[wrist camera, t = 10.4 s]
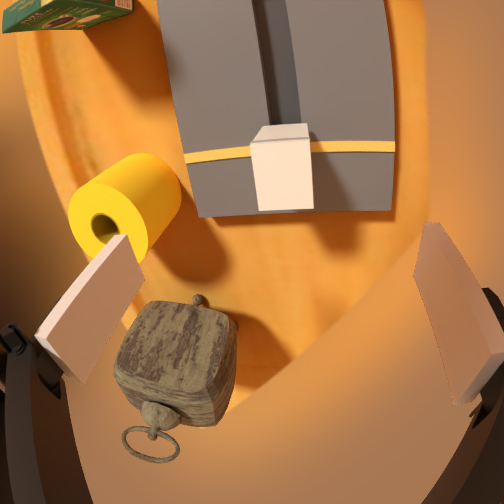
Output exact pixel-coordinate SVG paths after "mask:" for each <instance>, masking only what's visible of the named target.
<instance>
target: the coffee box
mask: <svg viewBox="0 0 504 504" xmlns="http://www.w3.org/2000/svg"><path fill="white" fill-rule="evenodd" d="M133 12H134V8H133V0H18V1H16V2H15V3H14V4H12V5H11V6H10V7H8V8H7V9H6V10H4V12H3V21H2V33H11V32H22V31H34V30H82V29H85V28H87V27H90V26H93V25H95V24H98V23H101V22H104V21H107V20H110V19H113V18H116V17H119V16H123V15H126V14H130V13H133Z"/></svg>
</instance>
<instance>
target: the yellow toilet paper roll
mask: <svg viewBox="0 0 504 504" xmlns="http://www.w3.org/2000/svg"><path fill="white" fill-rule="evenodd" d="M181 200H182V192H181V187H180V183H179V181H178V178H177V176H176V175H175V173H174V171H173V170H172V169H171V168H170V167H169V166H168V165H167V164H166V163H165V162H164V161H163V160H161V159H159V158H158V157H155V156H153V155H150V154H144V153H138V154H133V155H130V156H128V157H126V158H124V159H123V160H121V161H120V162H118V163H116V164H115V165H113V166H112V167H110V168H109V169H107V170H106V171H104V172H103V173H101V174H100V175H98V176H97V177H95V178H94V179H92V180H91V181H89V182H88V183H86V184H85V185H84V186H82V187H81V188H79V189H78V190H77V191H76V192H75V193H74V195H73V196H72V198H71V201H70V204H69V211H68V215H69V223H70V227H71V230H72V232H73V235H74V237H75V238H76V240H77V242H78V243H79V245H80V246H81V247H82V249H83V250H84V251H85V252H86V253H87V254H88V255H89V256H90V257H91V258H93V259H94V258H95V257H96V255H97V254H98V253H99V252H100V251H101V250H102V249H103V247H104V246H105V245H106V244H107V243H108V242H109V241H110V240H111V239H112V238H113V236H114V235H122V234H127V235H128V238H129V241H130V243H131V246H132V249H133V251H134V254H135V256H136V259H137V261H138V264H139V263H140V262H141V261H142V260H143V258H144V257H145V256H146V254H147V253H148V252H149V250H150V249H151V247H152V246H153V245H154V243H155V242H156V241H157V239H158V238H159V237H160V235H161V234H162V233H163V231H164V230H165V229H166V227H167V226H168V225H169V223H170V222H171V221H172V219H173V218H174V217H175V216H176V214H177V213H178V211H179V208H180V205H181Z"/></svg>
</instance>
